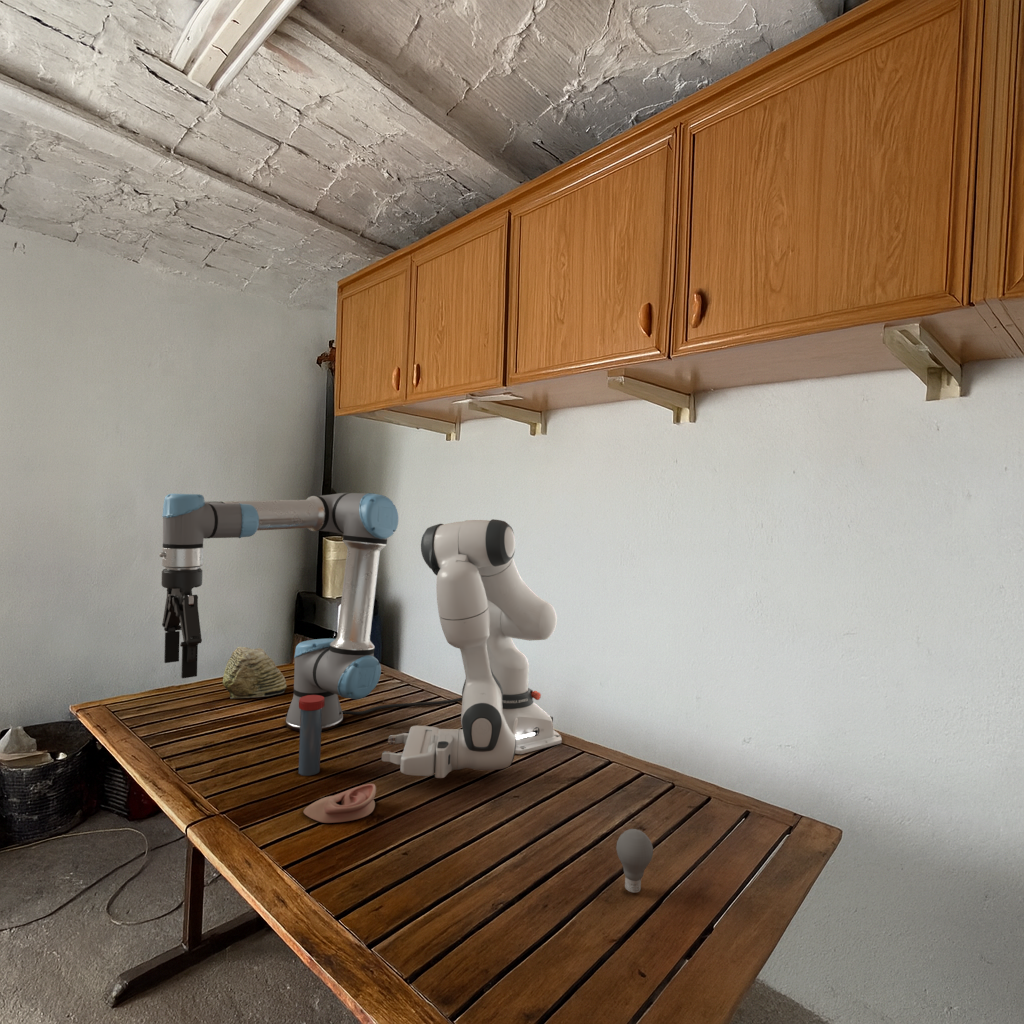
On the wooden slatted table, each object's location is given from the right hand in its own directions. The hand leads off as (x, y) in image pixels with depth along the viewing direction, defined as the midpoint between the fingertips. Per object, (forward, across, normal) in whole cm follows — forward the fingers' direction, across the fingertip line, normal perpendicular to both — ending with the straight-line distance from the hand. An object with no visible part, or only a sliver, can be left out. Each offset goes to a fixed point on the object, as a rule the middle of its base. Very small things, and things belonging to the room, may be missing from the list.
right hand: (385, 747), depth 146 cm
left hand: (+42, +11, -20) cm, 48 cm away
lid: (+17, 0, -10) cm, 20 cm away
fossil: (+49, -54, +6) cm, 73 cm away
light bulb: (-48, +43, +6) cm, 64 cm away
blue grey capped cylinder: (+17, 0, +6) cm, 18 cm away
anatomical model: (+6, +18, +6) cm, 20 cm away
